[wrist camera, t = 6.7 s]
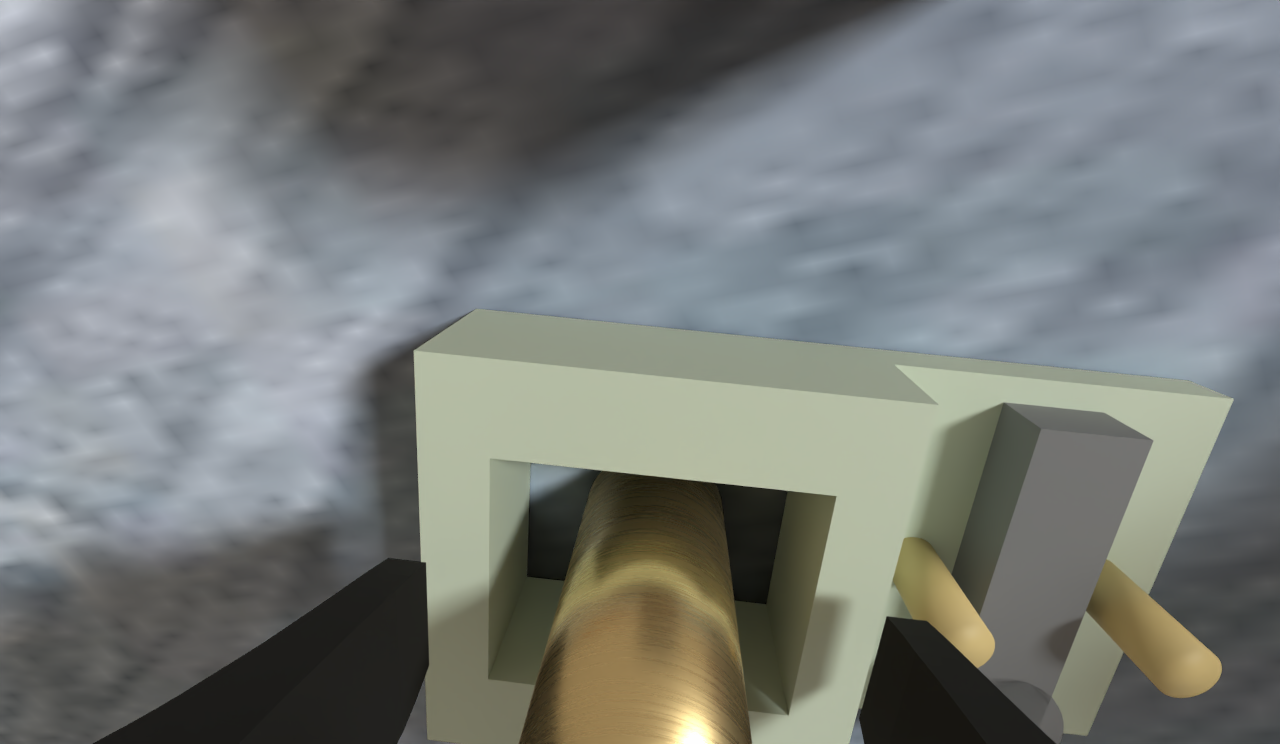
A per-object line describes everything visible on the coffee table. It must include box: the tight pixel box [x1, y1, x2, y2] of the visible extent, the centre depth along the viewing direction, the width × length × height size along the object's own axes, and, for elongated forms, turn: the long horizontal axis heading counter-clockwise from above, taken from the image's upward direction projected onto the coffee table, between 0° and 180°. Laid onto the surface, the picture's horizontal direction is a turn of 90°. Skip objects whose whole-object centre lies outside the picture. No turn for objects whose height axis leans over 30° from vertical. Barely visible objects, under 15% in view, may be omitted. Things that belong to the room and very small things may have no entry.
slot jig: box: [414, 309, 1234, 744], centre depth 12 cm, size 14×8×3 cm, turn 85°
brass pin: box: [519, 471, 752, 744], centre depth 10 cm, size 3×3×7 cm
